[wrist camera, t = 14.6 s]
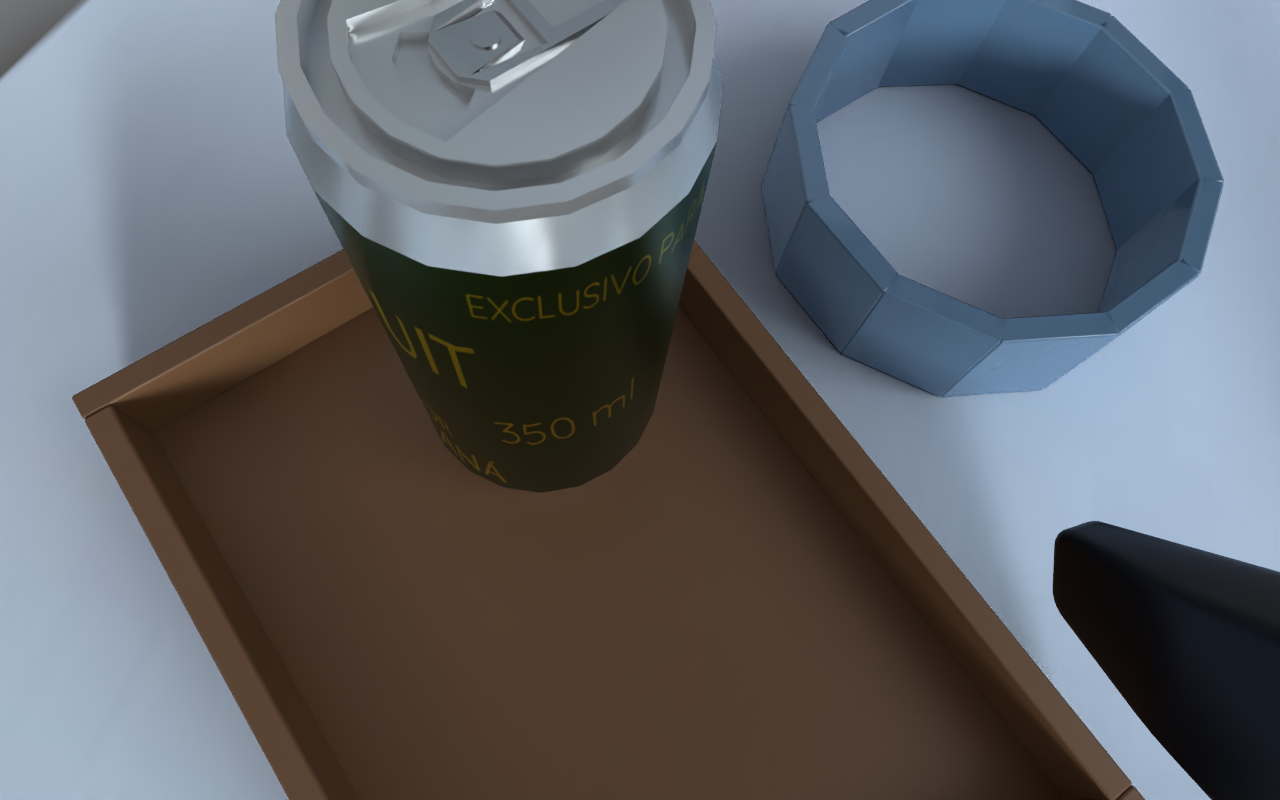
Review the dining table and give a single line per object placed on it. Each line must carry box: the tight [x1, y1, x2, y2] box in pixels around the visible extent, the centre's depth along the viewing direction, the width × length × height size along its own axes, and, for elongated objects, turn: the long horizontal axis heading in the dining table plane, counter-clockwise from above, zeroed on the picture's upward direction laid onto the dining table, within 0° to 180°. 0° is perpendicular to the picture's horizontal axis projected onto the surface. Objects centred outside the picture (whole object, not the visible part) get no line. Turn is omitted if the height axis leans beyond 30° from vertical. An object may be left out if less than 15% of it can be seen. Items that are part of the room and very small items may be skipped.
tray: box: [72, 241, 1145, 800], centre depth 19 cm, size 19×13×3 cm
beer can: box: [275, 0, 723, 493], centre depth 16 cm, size 5×5×12 cm
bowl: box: [762, 0, 1224, 397], centre depth 23 cm, size 10×10×4 cm
